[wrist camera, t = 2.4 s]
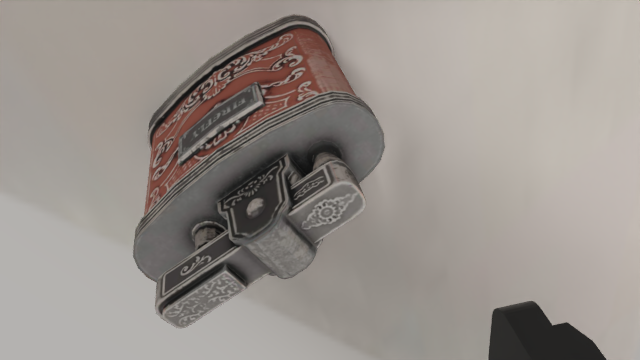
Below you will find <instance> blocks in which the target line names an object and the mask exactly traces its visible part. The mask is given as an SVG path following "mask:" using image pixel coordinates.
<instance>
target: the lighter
mask: <svg viewBox="0 0 640 360" xmlns="http://www.w3.org/2000/svg"><path fill="white" fill-rule="evenodd" d="M148 145H149V147H150V150H151V159H150V168H149V177H148V186H147V195H146V204H145V212H144V217H143V218H142V219H141V221H140V222H139V224H138V226H137V228H136V231H135V239H134V250H133V257H134V259H135V262H136V264H137V266H138V268H139V269H140V270H141V271H142V272H143V273H144V274H145V275H146V276H147V277H148V278H150V279H151V280H153V281H155V282H157V288H156V302H155V310H156V313H157V314H158V315H159V316H160V317H161V318H162V319H163V320H165V321H166V322H167V323H169V324H171V325H173V326H174V327H176V328H185V327H187V326H189V325H191V324H192V323H194V322H196V321H197V320H199V319H200V318H202V317H203V316H205V315H206V314H208V313H209V312H211V311H212V310H214V309H215V308H217V307H219V306H220V305H222V304H223V303H225V302H226V301H228V300H229V299H231V298H232V297H234V296H236V295H237V294H239V293H240V292H242V291H243V290H245V289H246V288H247V287H249V286H250V285H252V284H253V283H255V282H257V281H258V280H260V279H261V278H263V277H264V276H266V275H267V274H269V275H272V276H273V275H277V276H278V277H279V278H282V279H287V278H291V277H293V276H295V275H296V274H298V273H300V272H301V271H303V270H304V269H306V268H307V267H308V266H309V265H310V263H311V262H312V261H313V259H314V257H315V255H316V252H317V248H318V247H319V246H320V244H321V243H322V241H323V238H324V237H326V236H327V235H329V234H330V233H332V232H333V231H335V230H336V229H338V228H339V227H341V226H343V225H344V224H346V223H347V222H349V221H350V220H352V219H353V218H355V217H356V216H357V215H359V214H360V213H361V212H362V211H363V209H364V208H365V206H366V199H365V197H364V195H363V192H362V190H361V188H360V186H359V183H360V182H361V181H362V180H363V179H364V178H365V177H366V176H368V175H369V174H370V173H371V172H372V171H373V170H374V168H375V167H376V166H377V164H378V163H379V162H380V160H381V157H382V154H383V151H384V148H385V145H384V133H383V131H382V129H381V127H380V125H379V122H378V120H377V119H376V117H375V115H374V114H373V112H372V110H371V109H370V107H369V106H368V105H367V104H366V103H365V102H363V101H362V100H361V99H360V98H359V97H357V96H356V95H355V93H354V92H353V90H352V88H351V86H350V85H349V83H348V81H347V79H346V78H345V76H344V74H343V72H342V71H341V69H340V67H339V65H338V64H337V62H336V60H335V58H334V51H333V47H332V45H331V42H330V40H329V38H328V36H327V35H326V33H325V31H324V30H323V29H322V28H321V26H320V25H319V24H318V23H317V22H316V21H314V20H312V19H310V18H308V17H306V16H303V15H295V14H293V15H289V16H286V17H283V18H281V19H278V20H276V21H274V22H272V23H270V24H268V25H266V26H264V27H262V28H260V29H258V30H256V31H254V32H252V33H250V34H248V35H246V36H244V37H243V38H241V39H240V40H238V41H237V42H235V43H234V44H232V45H230V46H229V47H227V48H226V49H224V50H223V51H221V52H220V53H218V54H217V55H215V56H213V57H212V58H210V59H209V60H208V61H207V62H206V63H205V64H203V65H202V66H201V67H200V68H199V69H198V70H197V71H195V72H194V73H193V74H192V75H191V76H190V77H189V78H187V79H186V80H185V81H184V82H183V83H182V84H181V85H179V86H178V87H177V89H176V90H175V91H174V92H173V93H172V94H171V95H170V96H169V98H168V99H167V100H166V101H165V102H164V103H163V104H162V105H161V107H160V108H159V109H158V110H157V111H156V112H155V113H154V115H153V117H152V119H151V120H150V123H149V131H148Z"/></svg>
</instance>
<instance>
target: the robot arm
mask: <svg viewBox="0 0 640 360" xmlns="http://www.w3.org/2000/svg"><path fill="white" fill-rule="evenodd" d="M489 360H606V358H605V357H604V356H603V354H602V353H601V352H600V350H599V349H598V347H597V346H596V345H595V343H594V342H593V341H592V340H591V339H589V338H588V337H586V336H585V335H584V334H582V333H581V332H580V331H578V330H577V329H575V328H574V327H573V326H571V325H570V324H569V323H567V322H566V323H562V324H558V325H553V326H552V324H551V323H550V321H549V320H548V318H547V317H546V315H545V314H544V313H543V311H542V310H541V308H540V307H539V306H538V305H537V304H536V303H535V302H533V301H528V302H524V303H519V304H515V305H510V306H506V307H501V308H497V309H494V311H493V314H492V324H491V335H490V346H489Z"/></svg>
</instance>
